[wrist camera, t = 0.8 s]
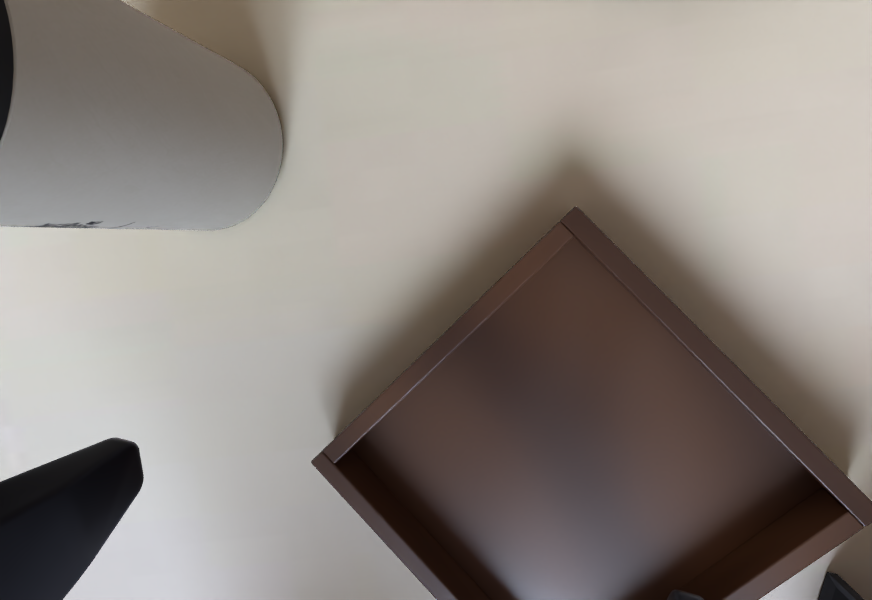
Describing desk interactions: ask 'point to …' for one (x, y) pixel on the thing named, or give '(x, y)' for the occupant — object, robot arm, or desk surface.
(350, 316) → the desk surface
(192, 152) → the travel mug
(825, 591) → the speaker
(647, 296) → the tray
